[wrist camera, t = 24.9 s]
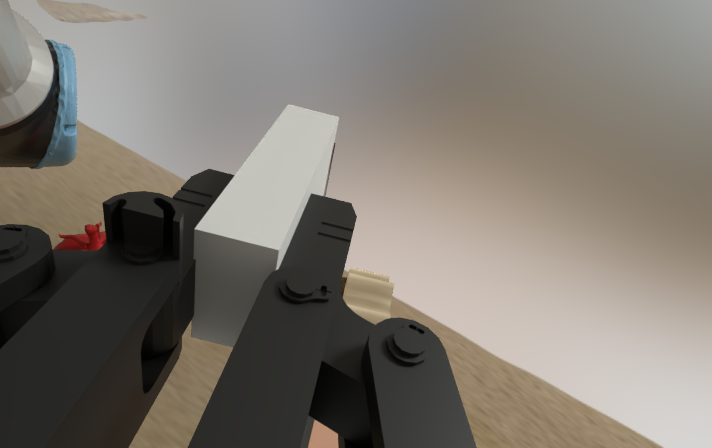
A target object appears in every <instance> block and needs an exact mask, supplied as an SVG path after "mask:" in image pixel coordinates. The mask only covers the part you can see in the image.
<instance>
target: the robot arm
mask: <svg viewBox="0 0 712 448" xmlns="http://www.w3.org/2000/svg"><path fill="white" fill-rule="evenodd" d="M338 121H339V117H336V116H332V115H328V114H324V113H321V112H317V111H313V110H309V109H305V108H301V107H297V106H293V105H288V106H287V107H286V108H285V110H284V111H283V112H282V114H281V115H280V116H279V118H278V119H277V120H276V122H275V123H274V124H273V126H272V127H271V128H270V130H269V131H268V132H267V134H266V135H265V136H264V137H263V139H262V140H261V141H260V143H259V144H258V145H257V147H256V148H255V149H254V151H253V152H252V154H251V155H250V156H249V157H248V159H247V160H246V161H245V163H244V164H243V165H242V167H241V168H240V169H239V171H238V172H237V173H236V175H231V174H227V173H223V172H219V171H215V170H212V169H208V170H205V171H203V172H201V173H198V174H196V175H194V176H192V177H191V178H190V179H189V180H188V181H187V182H186V183H185V184H184V185H183V186H182V187H181V190H179V191H178V192H177V193H176V194H175V195H174V196H173V198H170V197H168V196H165V195H163V194H160V193H153V192H146V191H141V192H128V193H124V194H120V195H116V196H113V197H112V198H110V199H108V200H107V201H105V202H103V212H104V222H105V232H106V243H105V244H104V245H103V246H102V247H101V248H100V249H99V250H88V251H84V250H52V245H51V241H50V238H49V235H47V234H46V233H45V232H43V231H42V230H41V229H39V228H35V227H31V226H28V225H15V224H7V225H0V448H128V447H129V445H130V444H131V442H132V440H133V438H134V437H135V435H136V433H137V431H138V429H139V428H140V426H141V424H142V422H143V421H144V419H145V417H146V415H147V414H148V412H149V410H150V408H151V406H152V405H153V403H154V401H155V399H156V398H157V396H158V394H159V392H160V391H161V389H162V387H163V385H164V383H165V382H166V380H167V378H168V376H169V375H170V373H171V371H172V369H173V368H174V366H175V364H176V362H177V360H178V359H179V356H180V352H181V349H182V335H183V333H184V331H185V330H186V328H187V326H188V325H189V323H190V321H191V320H192V329H191V337H194V338H198V339H202V340H206V341H210V342H214V343H218V344H222V345H226V346H230V347H234V348H233V350H232V352H231V354H230V357H229V359H228V361H227V363H226V365H225V368H224V370H223V372H222V374H221V376H220V378H219V381H218V383H217V385H216V387H215V389H214V391H213V394H212V396H211V398H210V400H209V402H208V405H207V407H206V409H205V411H204V413H203V415H202V418H201V420H200V422H199V424H198V426H197V428H196V431H195V433H194V435H193V437H192V439H191V441H190V444H189V446H188V448H300V446H301V442H302V438H303V434H304V430H305V426H306V422H307V418H308V416H310V417H312V418H313V419H315V420H316V421H318V422H320V423H321V424H323V425H324V426H326V427H328V428H329V429H331V430H332V431H334V432H336V433H337V434H338V447H339V448H477V447H476V444H475V441H474V438H473V435H472V432H471V429H470V426H469V423H468V419H467V416H466V413H465V410H464V407H463V404H462V401H461V398H460V395H459V391H458V388H457V385H456V382H455V379H454V376H453V373H452V370H451V366H450V363H449V360H448V357H447V354H446V351H445V349H444V347H443V345H442V343H441V341H440V339H439V338H438V337H437V336H436V335H435V334H434V333H433V332H432V331H431V330H430V329H429V328H427V327H426V326H424V325H422V324H420V323H418V322H416V321H413V320H409V319H404V318H389V319H385V320H383V321H381V322H379V323H377V324H376V325H375V324H373V323H371V322H369V321H367V320H366V319H364V318H362V317H361V316H359V315H358V314H356V313H355V312H354V311H353V310H352V309H351V308H350V307H348V306H347V304H346V302H345V301H344V299H343V298H342V294H341V291H340V285H341V279H342V275H343V271H344V267H345V263H346V259H347V254H348V251H349V246H350V242H351V238H352V234H353V230H354V226H355V222H356V217H357V216H356V214H355V211H354V209H353V207H352V204H351V203H348V202H344V201H339V200H336V199H332V198H328V197H324V196H323V195H324V190H325V185H326V180H327V175H328V170H329V165H330V160H331V155H332V150H333V146H334V141H335V135H336V131H337V126H338ZM76 124H77V88H76V66H75V57H74V53H73V50H72V49H71V48H70V47H69V46H67V45H65V44H61V43H56V42H55V41H53V40H44V38H43V37H42V35H41V34H40V33H39V32H38V30H37V29H36V28H35V27H34V26H33V25H32V24H31V23H30V22H29V21H28V20H27V19H25V18H24V17H23V16H21V15H20V14H19V13H17V12H15V11H14V10H12V9H11V7H10V5H9V2H8V0H0V167H29V168H31V169H40V168H42V167H51V166H64V165H67V164H69V163H70V162H71V161H72V160H73V159H74V158H75V155H76V149H77V127H76Z"/></svg>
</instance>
